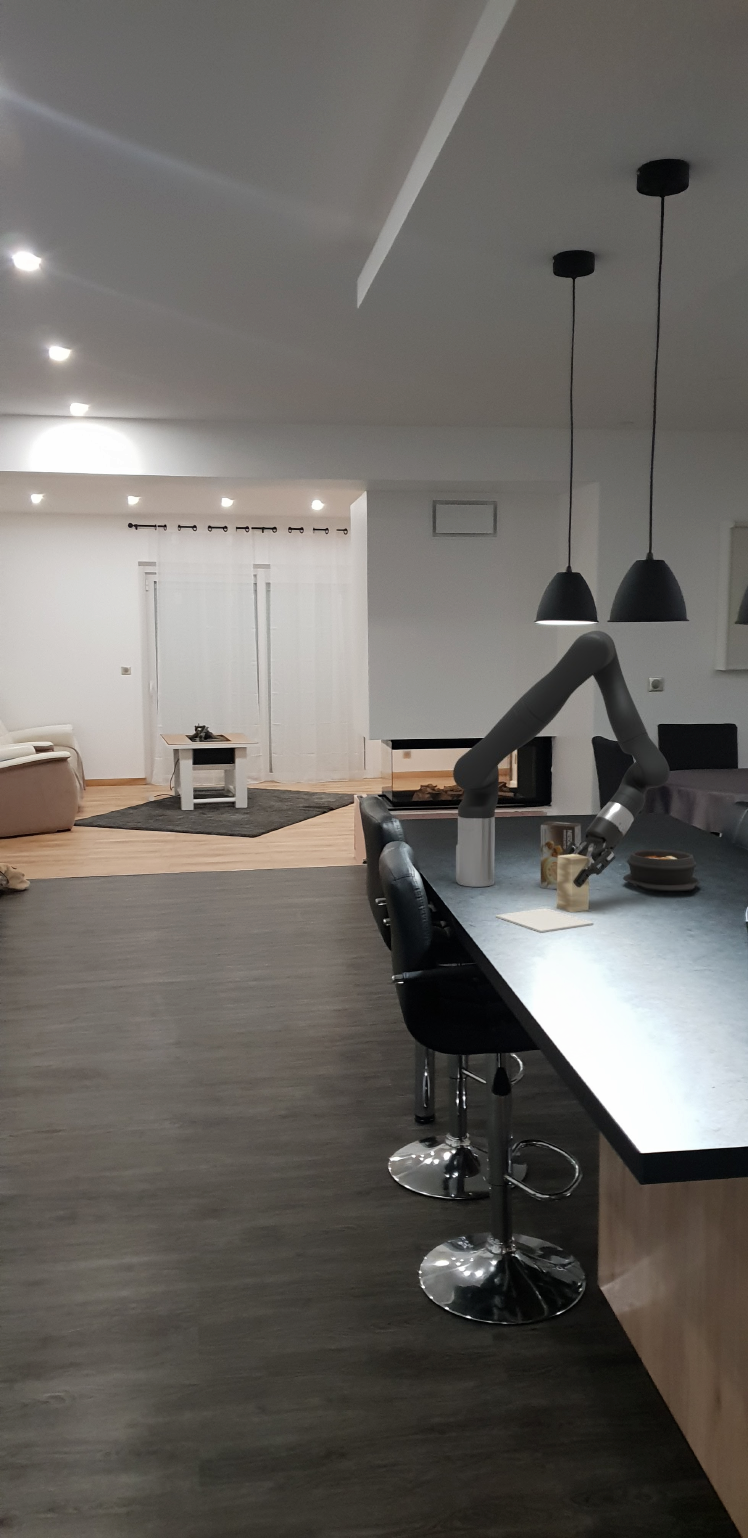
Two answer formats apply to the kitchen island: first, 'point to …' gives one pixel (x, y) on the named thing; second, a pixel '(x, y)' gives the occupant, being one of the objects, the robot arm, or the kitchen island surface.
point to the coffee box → (556, 848)
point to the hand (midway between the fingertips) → (568, 882)
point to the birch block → (571, 884)
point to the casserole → (662, 870)
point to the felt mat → (544, 920)
